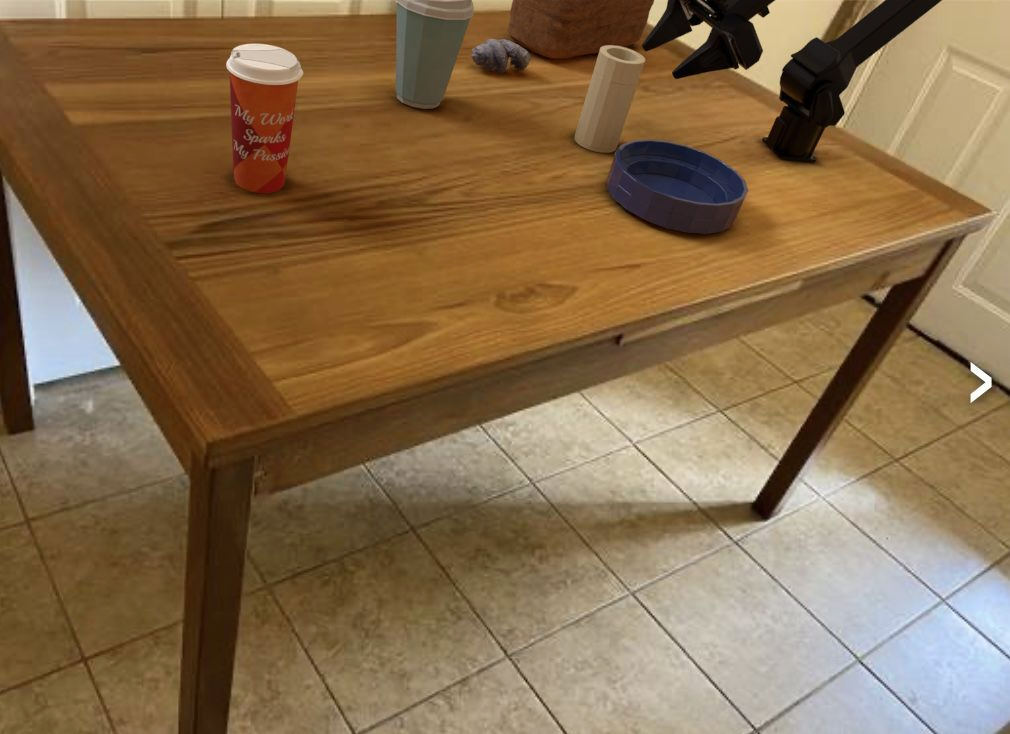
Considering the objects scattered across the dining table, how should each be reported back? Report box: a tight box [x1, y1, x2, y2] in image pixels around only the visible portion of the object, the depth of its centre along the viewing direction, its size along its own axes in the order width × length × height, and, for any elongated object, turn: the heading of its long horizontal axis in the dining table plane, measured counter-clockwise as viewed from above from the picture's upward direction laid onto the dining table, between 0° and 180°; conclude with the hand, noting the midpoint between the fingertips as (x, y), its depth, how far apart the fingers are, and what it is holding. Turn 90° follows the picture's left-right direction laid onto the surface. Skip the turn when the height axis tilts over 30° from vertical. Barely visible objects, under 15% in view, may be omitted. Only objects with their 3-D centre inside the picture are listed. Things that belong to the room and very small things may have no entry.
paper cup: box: [225, 43, 304, 194], centre depth 94 cm, size 8×8×14 cm
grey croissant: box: [470, 38, 532, 75], centre depth 136 cm, size 5×5×10 cm
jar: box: [574, 45, 646, 154], centre depth 120 cm, size 6×6×12 cm
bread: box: [507, 0, 655, 60], centre depth 150 cm, size 14×28×12 cm, turn 135°
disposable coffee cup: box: [394, 0, 475, 110], centre depth 119 cm, size 11×11×15 cm
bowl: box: [606, 138, 749, 235], centre depth 112 cm, size 17×17×4 cm
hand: (657, 61), depth 118 cm, fingers open, 9 cm apart
